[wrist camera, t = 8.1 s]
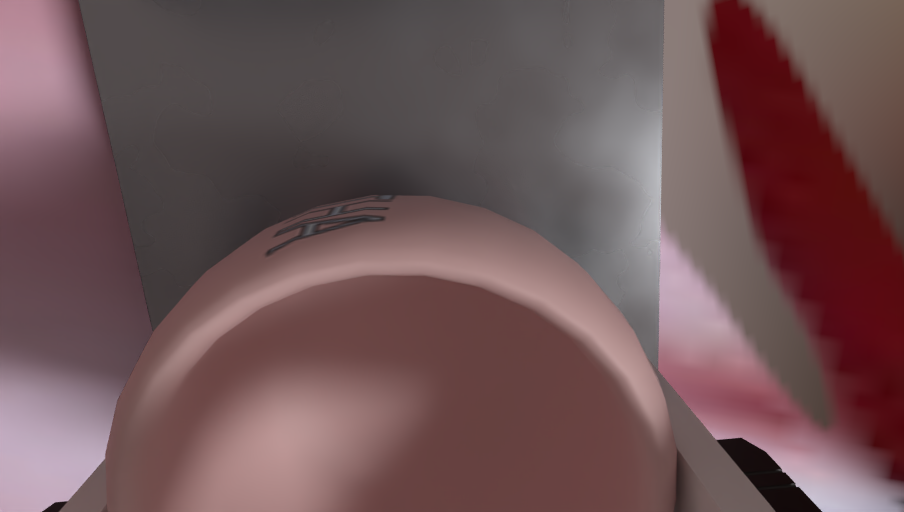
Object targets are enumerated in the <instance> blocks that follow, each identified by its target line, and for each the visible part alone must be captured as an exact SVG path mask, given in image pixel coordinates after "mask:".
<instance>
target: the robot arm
mask: <svg viewBox="0 0 904 512" xmlns="http://www.w3.org/2000/svg"><path fill="white" fill-rule="evenodd" d="M648 360H649V359H648ZM649 362H650V364H651V366H652V368H653V370H654V372H655V374H656V376H657V378H658V380H659V383H660V386H661V388H662V391H663V394H664V397H665V400H666V405H667V409H668V413H669V418H670V422H671V426H672V431H673V435H674V439H675V444H676V448H677V484H676V504H675V508H674V512H822V511H821V510H820V509H819V508H818V507H817V506H816V505H815V504H814V503H813V502H812V501H811V499H810V498H809V497H808V496H807V495H806V494H805V493H804V492H803V491H802V490H801V489H800V488H799V487H796V485H795V483H794V481H793V480H792V479H791V478H790V477H789V476H788V475H787V474H786V473H785V472H784V473H783V472H782V469H781V468H780V467H779V466H778V465H777V463H776V462H775V461H774V460H773V459H772V458H771V457H770V456H769V455H768V454H767V453H766V452H765V451H763V450H762V449H760V448H758V447H756V446H755V445H753V444H751V443H749V442H748V441H746V440H744V439H742V438H734V439H723V440H716V439H715V438H714V437H713V436H712V435H711V433H710V432H709V431H708V430H707V429H706V427H705V426H704V425H703V424H702V423H701V421H700V420H699V419H698V418H697V417H696V415H695V414H694V413H693V412H692V411H691V409H690V408H689V407H688V406H687V405H686V403H685V402H684V401H683V400H682V399H681V397H680V396H679V395H678V394H677V393H676V391H675V390H674V389H673V388H672V387H671V385H670V384H669V383H668V382H667V381H666V379H665V378H664V377H663V376H662V375H661V373H660V372H659V371H658V370H657V369H656V367H655V366H654V365H653V364H652V363H651V361H650V360H649ZM42 512H108V511H107V492H106V460H104V461H103V462H102V463H101V464H100V465H99V467H98V468H97V469H96V470H95V471H94V472H93V473H92V475H91V476H90V477H89V478H88V479H87V480H86V481H85V483H84V484H83V485H82V486H81V487H80V488H79V489H78V490H77V492H76V493H75V494H74V495H73V496H72V497H71V498H70V500H69V501H66V502H55V503H54V504H52V505H51V506H50V507H48V508H47V509H45V510H44V511H42Z"/></svg>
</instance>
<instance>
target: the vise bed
mask: <svg viewBox="0 0 904 512" xmlns="http://www.w3.org/2000/svg"><path fill="white" fill-rule="evenodd" d="M78 1H79V5H80V9H81V14H82V18H83V23H84V27H85V32H86V36H87V41H88V45H89V49H90V54H91V58H92V63H93V67H94V72H95V76H96V81H97V85H98V90H99V94H100V98H101V103H102V107H103V112H104V116H105V121H106V125H107V130H108V134H109V138H110V143H111V147H112V152H113V156H114V161H115V165H116V170H117V174H118V178H119V183H120V187H121V192H122V196H123V201H124V205H125V210H126V214H127V219H128V223H129V227H130V232H131V236H132V241H133V245H134V250H135V254H136V259H137V263H138V267H139V272H140V276H141V281H142V285H143V290H144V294H145V299H146V303H147V308H148V312H149V316H150V321H151V325H152V330H153V331H154V330H155V329H156V328H157V326H158V325H159V324H160V323H161V322H162V321H163V319H164V318H165V317H166V316H167V315H168V314H169V313H170V311H171V310H172V309H173V308H174V307H175V306H176V304H177V303H178V302H179V301H180V300H181V299H182V298H183V296H184V295H185V294H186V293H187V292H188V291H189V289H190V288H191V287H192V286H193V285H194V284H195V283H196V282H197V281H198V280H199V279H200V277H201V276H202V275H203V274H204V273H205V272H206V271H207V270H209V269H210V268H211V267H213V266H214V265H216V264H217V263H218V262H220V261H221V260H222V259H224V258H225V257H227V256H228V255H229V254H231V253H232V252H233V251H235V250H236V249H238V248H239V247H240V246H242V245H243V244H244V243H246V242H247V241H249V240H250V239H251V238H253V237H254V236H256V235H257V234H259V233H260V232H261V231H263V230H264V229H266V228H268V227H270V226H273V225H275V224H277V223H280V222H282V221H284V220H287V219H289V218H291V217H294V216H296V215H298V214H300V213H303V212H305V211H307V210H310V209H312V208H314V207H317V206H321V205H326V204H331V203H336V202H341V201H346V200H351V199H356V198H361V197H366V196H371V195H402V196H433V197H437V198H442V199H446V200H451V201H455V202H460V203H464V204H469V205H473V206H478V207H482V208H486V209H488V210H490V211H492V212H495V213H497V214H499V215H501V216H503V217H506V218H508V219H510V220H512V221H514V222H516V223H519V224H521V225H523V226H525V227H527V228H530V229H532V230H534V231H535V232H537V233H538V234H539V235H541V236H542V237H543V238H545V239H546V240H547V241H549V242H550V243H551V244H553V245H554V246H555V247H557V248H558V249H559V250H561V251H562V252H563V253H565V254H566V255H567V256H569V257H570V258H571V259H573V260H574V261H575V262H577V263H578V264H579V265H580V266H581V267H582V268H583V269H584V270H585V271H586V272H587V273H588V274H589V275H590V276H591V277H592V279H593V280H594V281H595V282H596V283H597V285H598V286H599V287H600V288H601V289H602V290H603V292H604V293H605V294H606V295H607V296H608V298H609V299H610V300H611V301H612V302H613V303H614V305H615V306H616V307H617V308H618V309H619V311H620V312H621V313H622V314H623V316H624V317H625V319H626V320H627V321H628V323H629V324H630V326H631V327H632V329H633V330H634V332H635V334H636V336H637V338H638V340H639V342H640V344H641V346H642V348H643V350H644V352H645V354H646V356H647V358H648V359H649V360H650V361H651V363H652V364H653V365H654V366H655V367H656V369H657V370H658V341H659V282H660V222H661V163H662V158H661V155H662V103H663V43H664V0H78Z"/></svg>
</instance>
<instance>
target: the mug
mask: <svg viewBox="0 0 904 512" xmlns="http://www.w3.org/2000/svg"><path fill="white" fill-rule="evenodd" d="M105 460H106V492H107V511H108V512H674V508H675V504H676V484H677V448H676V444H675V439H674V435H673V431H672V426H671V422H670V418H669V413H668V409H667V405H666V400H665V397H664V394H663V391H662V388H661V386H660V383H659V380H658V378H657V376H656V374H655V372H654V370H653V368H652V366H651V364H650V362H649V360H648V358H647V356H646V354H645V352H644V350H643V348H642V346H641V344H640V342H639V340H638V338H637V336H636V334H635V332H634V330H633V329H632V327H631V326H630V324H629V323H628V321H627V320H626V319H625V317H624V316H623V314H622V313H621V312H620V311H619V309H618V308H617V307H616V306H615V305H614V303H613V302H612V301H611V300H610V299H609V298H608V296H607V295H606V294H605V293H604V292H603V290H602V289H601V288H600V287H599V286H598V285H597V283H596V282H595V281H594V280H593V279H592V277H591V276H590V275H589V274H588V273H587V272H586V271H585V270H584V269H583V268H582V267H581V266H580V265H579V264H578V263H577V262H575V261H574V260H573V259H571V258H570V257H569V256H567V255H566V254H565V253H563V252H562V251H561V250H559V249H558V248H557V247H555V246H554V245H553V244H551V243H550V242H549V241H547V240H546V239H545V238H543V237H542V236H541V235H539V234H538V233H537V232H535V231H534V230H532V229H530V228H527V227H525V226H523V225H521V224H519V223H516V222H514V221H512V220H510V219H508V218H506V217H503V216H501V215H499V214H497V213H495V212H492V211H490V210H488V209H486V208H482V207H478V206H473V205H469V204H464V203H460V202H455V201H451V200H446V199H442V198H437V197H433V196H402V195H371V196H366V197H361V198H356V199H351V200H346V201H341V202H336V203H331V204H326V205H321V206H317V207H314V208H312V209H310V210H307V211H305V212H303V213H300V214H298V215H296V216H294V217H291V218H289V219H287V220H284V221H282V222H280V223H277V224H275V225H273V226H270V227H268V228H266V229H264V230H263V231H261V232H260V233H259V234H257V235H256V236H254V237H253V238H251V239H250V240H249V241H247V242H246V243H244V244H243V245H242V246H240V247H239V248H238V249H236V250H235V251H233V252H232V253H231V254H229V255H228V256H227V257H225V258H224V259H222V260H221V261H220V262H218V263H217V264H216V265H214V266H213V267H211V268H210V269H209V270H207V271H206V272H205V273H204V274H203V275H202V276H201V277H200V279H199V280H198V281H197V282H196V283H195V284H194V285H193V286H192V287H191V288H190V289H189V291H188V292H187V293H186V294H185V295H184V296H183V298H182V299H181V300H180V301H179V302H178V303H177V304H176V306H175V307H174V308H173V309H172V310H171V311H170V313H169V314H168V315H167V316H166V317H165V318H164V319H163V321H162V322H161V323H160V324H159V325H158V326H157V328H156V329H155V330H154V331H153V333H152V335H151V337H150V339H149V341H148V342H147V344H146V346H145V348H144V350H143V352H142V354H141V356H140V358H139V360H138V362H137V364H136V365H135V367H134V369H133V371H132V373H131V375H130V377H129V379H128V381H127V383H126V385H125V387H124V389H123V391H122V393H121V395H120V397H119V399H118V401H117V405H116V409H115V414H114V418H113V423H112V427H111V431H110V436H109V440H108V445H107V449H106V454H105Z"/></svg>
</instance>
